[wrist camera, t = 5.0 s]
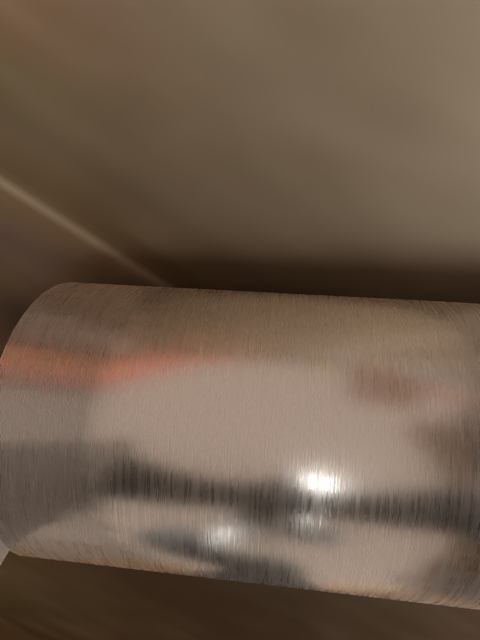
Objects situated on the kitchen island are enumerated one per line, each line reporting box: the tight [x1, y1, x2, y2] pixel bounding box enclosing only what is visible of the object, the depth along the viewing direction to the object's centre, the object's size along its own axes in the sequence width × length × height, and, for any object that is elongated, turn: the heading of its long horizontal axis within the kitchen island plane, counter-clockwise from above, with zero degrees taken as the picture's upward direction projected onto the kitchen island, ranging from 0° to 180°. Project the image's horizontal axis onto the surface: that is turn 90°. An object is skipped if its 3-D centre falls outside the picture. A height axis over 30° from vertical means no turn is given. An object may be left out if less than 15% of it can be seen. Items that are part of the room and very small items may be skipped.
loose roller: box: [0, 282, 480, 610], centre depth 12 cm, size 12×7×7 cm, turn 90°
